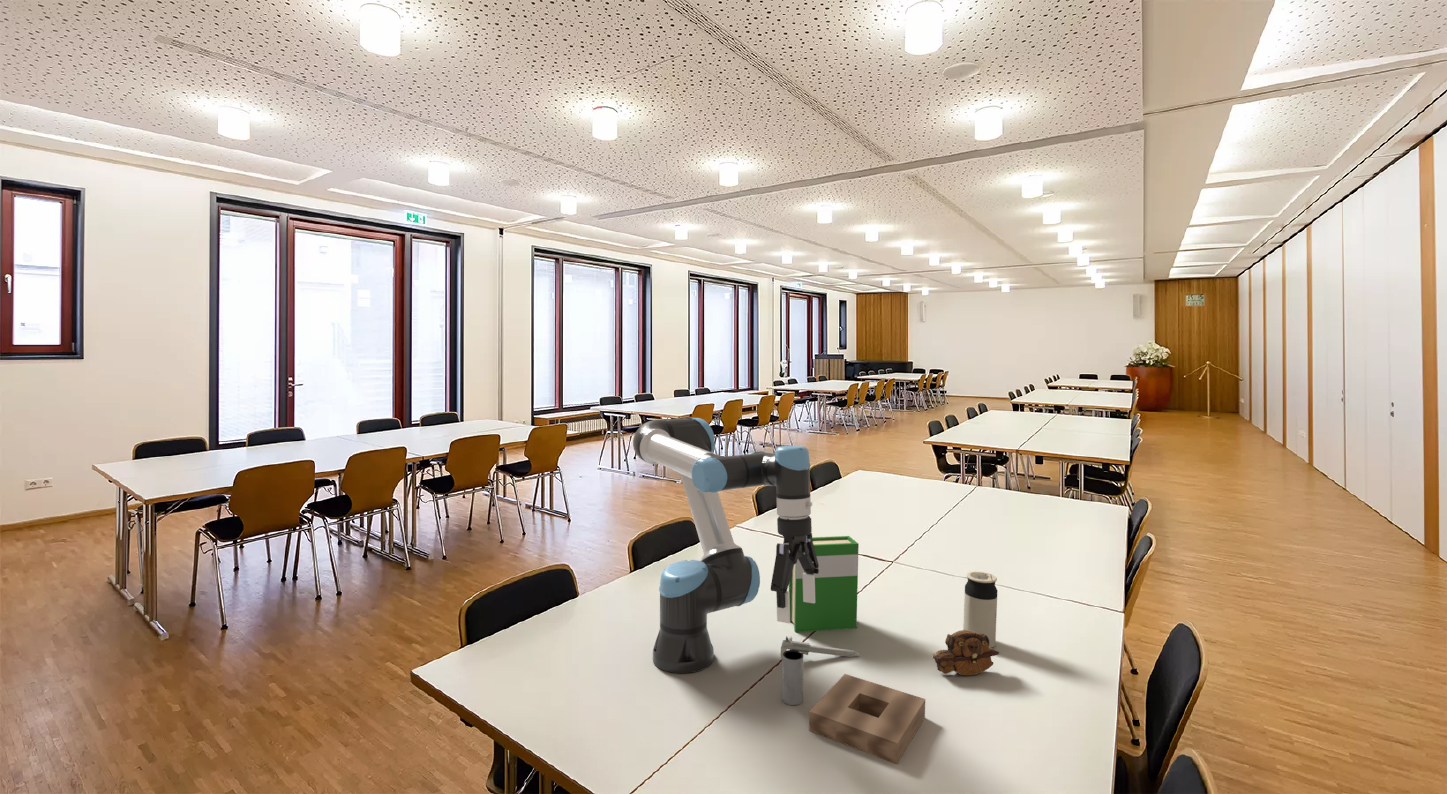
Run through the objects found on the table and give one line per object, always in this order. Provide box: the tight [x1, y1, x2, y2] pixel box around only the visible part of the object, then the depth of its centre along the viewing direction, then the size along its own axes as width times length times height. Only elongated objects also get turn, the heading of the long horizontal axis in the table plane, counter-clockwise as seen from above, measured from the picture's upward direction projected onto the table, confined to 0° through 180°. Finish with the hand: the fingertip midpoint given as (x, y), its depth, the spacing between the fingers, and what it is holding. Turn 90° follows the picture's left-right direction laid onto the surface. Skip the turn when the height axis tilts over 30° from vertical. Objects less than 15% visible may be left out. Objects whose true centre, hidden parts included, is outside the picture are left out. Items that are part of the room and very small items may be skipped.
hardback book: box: [788, 535, 860, 633], centre depth 174 cm, size 18×7×24 cm, turn 99°
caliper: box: [780, 635, 861, 662], centre depth 155 cm, size 20×1×6 cm, turn 99°
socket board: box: [808, 673, 926, 764], centre depth 127 cm, size 18×18×4 cm
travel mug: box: [962, 570, 998, 648], centre depth 164 cm, size 8×8×18 cm
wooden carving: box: [932, 629, 1000, 676], centre depth 148 cm, size 16×5×10 cm, turn 105°
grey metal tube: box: [781, 649, 804, 706], centre depth 136 cm, size 4×4×10 cm
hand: (797, 611), depth 137 cm, fingers open, 13 cm apart
